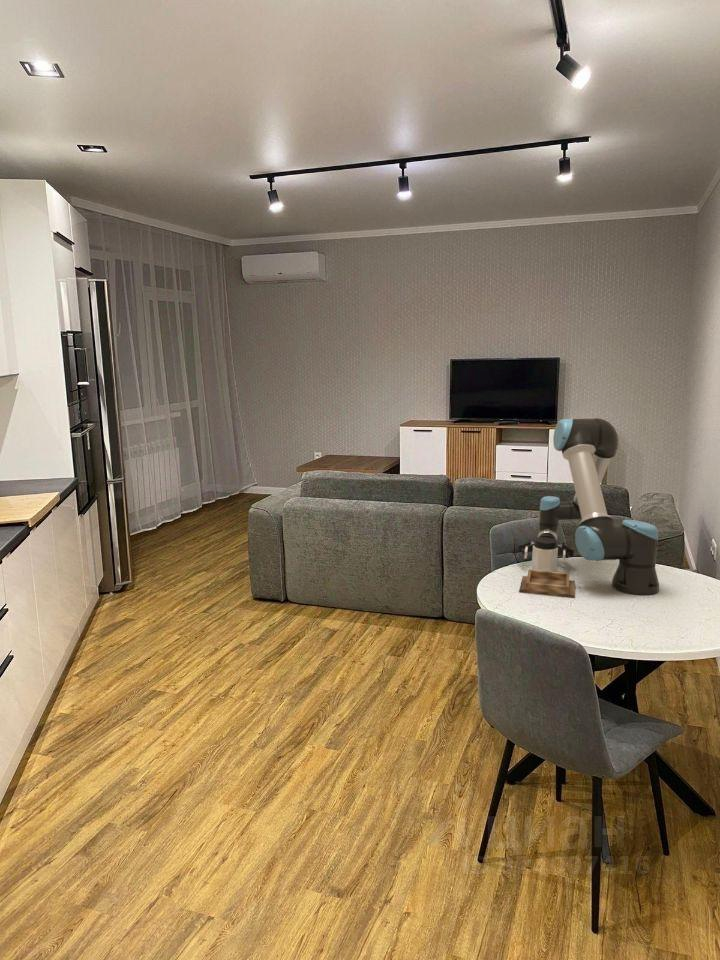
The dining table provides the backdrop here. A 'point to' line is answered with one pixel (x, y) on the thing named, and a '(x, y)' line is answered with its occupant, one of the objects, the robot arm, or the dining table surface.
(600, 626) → the dining table surface
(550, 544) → the jar
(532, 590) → the wooden tray
